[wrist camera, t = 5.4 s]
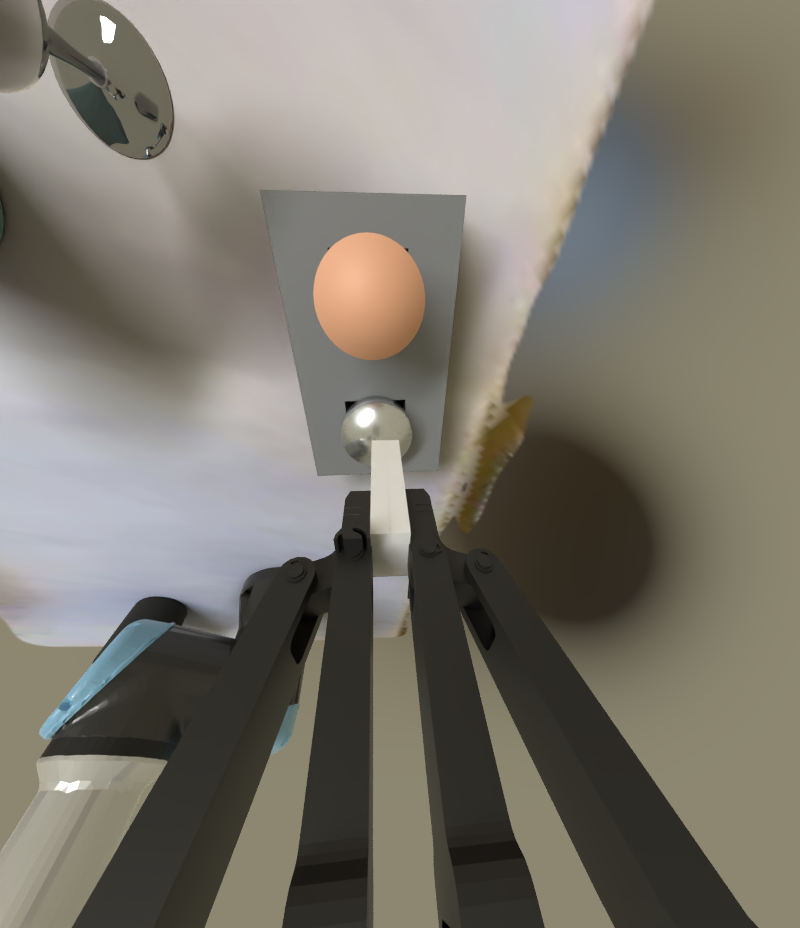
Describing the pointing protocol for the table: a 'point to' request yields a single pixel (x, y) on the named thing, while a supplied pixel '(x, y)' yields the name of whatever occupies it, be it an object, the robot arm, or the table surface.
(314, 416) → the press console
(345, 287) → the peach rounded piece
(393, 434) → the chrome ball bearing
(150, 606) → the pen holder
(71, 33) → the wine glass
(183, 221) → the table surface
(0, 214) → the flower pot
